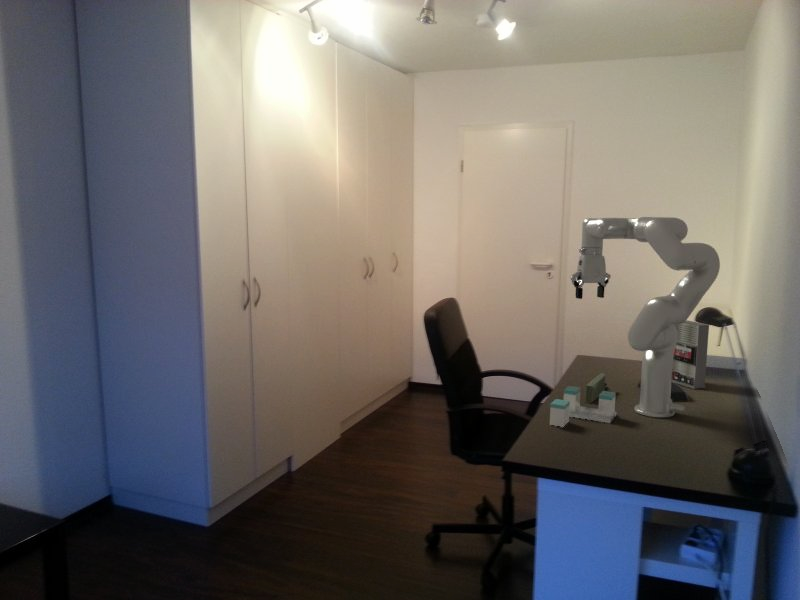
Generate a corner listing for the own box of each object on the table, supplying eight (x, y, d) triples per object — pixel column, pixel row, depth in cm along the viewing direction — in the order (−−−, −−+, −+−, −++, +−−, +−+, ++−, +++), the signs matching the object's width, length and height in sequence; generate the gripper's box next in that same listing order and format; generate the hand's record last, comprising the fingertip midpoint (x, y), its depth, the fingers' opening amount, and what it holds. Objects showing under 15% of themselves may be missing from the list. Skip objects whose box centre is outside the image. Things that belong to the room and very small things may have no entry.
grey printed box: (665, 381, 259) (669, 320, 256) (677, 379, 261) (681, 319, 258) (693, 389, 246) (697, 325, 243) (705, 388, 249) (709, 324, 245)
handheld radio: (582, 402, 229) (600, 386, 250) (592, 404, 227) (608, 388, 248) (584, 384, 228) (601, 370, 249) (593, 386, 226) (610, 371, 247)
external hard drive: (667, 388, 250) (668, 377, 250) (691, 402, 231) (691, 391, 230) (634, 388, 250) (635, 377, 249) (655, 402, 231) (655, 391, 230)
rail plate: (616, 415, 214) (617, 391, 213) (609, 423, 205) (611, 398, 204) (568, 407, 222) (569, 384, 221) (560, 415, 213) (561, 391, 212)
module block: (568, 422, 206) (569, 401, 205) (563, 427, 201) (564, 405, 200) (554, 420, 209) (555, 398, 208) (549, 425, 203) (550, 403, 202)
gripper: (578, 252, 230) (576, 300, 232) (617, 252, 236) (615, 298, 238) (566, 251, 237) (564, 297, 239) (604, 251, 243) (602, 295, 245)
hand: (589, 297), depth 239 cm, fingers open, 9 cm apart
